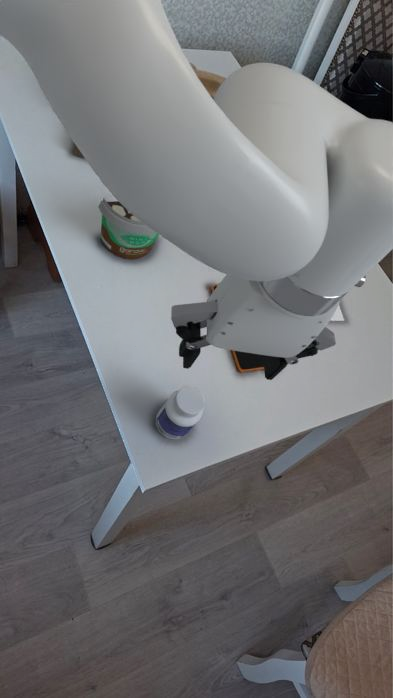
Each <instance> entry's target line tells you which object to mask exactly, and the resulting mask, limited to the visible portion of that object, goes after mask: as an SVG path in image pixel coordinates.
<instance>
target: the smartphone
mask: <svg viewBox="0 0 393 698" xmlns="http://www.w3.org/2000/svg"><path fill="white" fill-rule="evenodd" d="M218 285H219V284H215V285H212V286H211V288H210V289H211V292H212V293H213V291H214V290H215V289H216V287H217V286H218ZM212 293H211V294H212ZM231 353H232V355H233V359H234V361H235V364H236V367H237V370H238V372H240V373H247V372H254V371H260V370H264V360H263V356H264V355H260V354H253V353H246V352H240V351H234V350H231Z"/></svg>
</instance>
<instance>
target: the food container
mask: <svg viewBox="0 0 393 698" xmlns="http://www.w3.org/2000/svg"><path fill="white" fill-rule="evenodd" d="M98 209H99V211H100V213H101V222H100V223H101V224H100V225H101V226H100V241H101V243H102V245H103V246H104V247H105V249H106V250H107V251H108V252H110V253H111V254H112V255H114V256H116V257H118V258H122V259H124V260H139V259H142V258H144V257H146V256H147V255H148V254H149V253H150V252H151V251H152V249H153V247H154V245H155V243H156V241H157V239H158V237H159V236H160V235H159V234H158V233H156V232H155V231H153V230H152V229H151V228H149V227H148V226H146V225H145V224H143V223H142V222H141V221H140V220H139V219H137V218H136V217H135V216H134V215H132V214H131V213H130V212H129V211H128V210H127V209H126V208H125V207H124V206H123V205H122V204H121V203H120V202H119V201H118V200H114V201H107V200H106V198H105V197H103V198H102V200H101V201H100V202H99V204H98Z"/></svg>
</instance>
